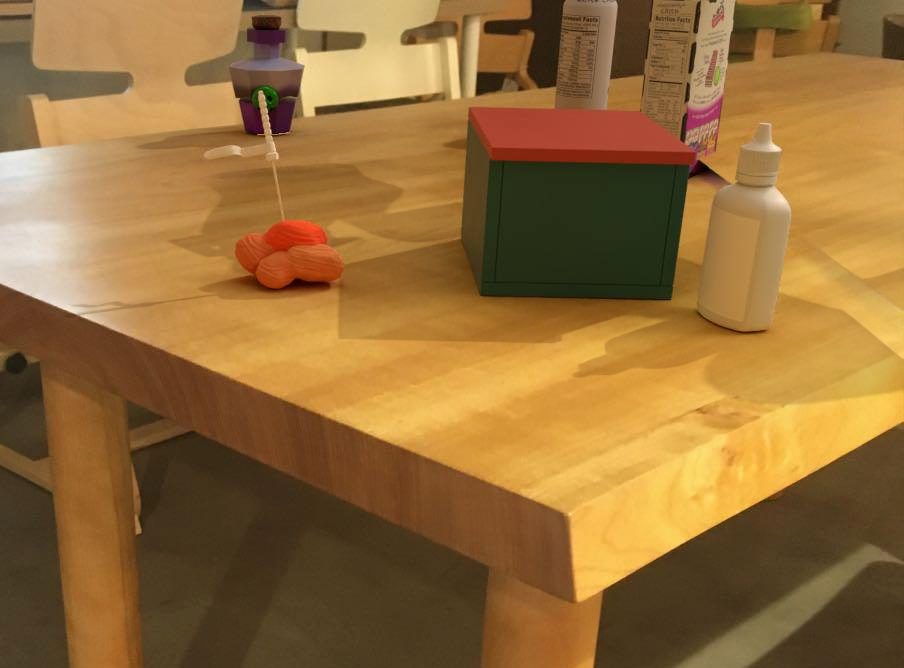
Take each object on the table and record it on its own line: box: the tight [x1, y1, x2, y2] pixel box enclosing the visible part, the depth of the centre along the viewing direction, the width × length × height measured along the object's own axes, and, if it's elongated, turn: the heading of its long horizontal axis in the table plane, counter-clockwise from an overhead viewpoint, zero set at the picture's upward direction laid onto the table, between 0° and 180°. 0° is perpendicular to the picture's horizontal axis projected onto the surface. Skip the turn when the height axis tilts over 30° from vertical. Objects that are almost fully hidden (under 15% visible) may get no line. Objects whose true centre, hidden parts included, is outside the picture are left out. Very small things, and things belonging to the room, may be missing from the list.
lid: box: [467, 106, 696, 165], centre depth 85 cm, size 17×13×1 cm
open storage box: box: [460, 118, 690, 300], centre depth 88 cm, size 16×13×9 cm
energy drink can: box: [553, 0, 619, 110], centre depth 143 cm, size 6×6×15 cm
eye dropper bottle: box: [696, 122, 792, 333], centre depth 76 cm, size 4×6×12 cm
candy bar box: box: [639, 0, 737, 178], centre depth 119 cm, size 11×5×16 cm, turn 148°
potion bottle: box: [228, 14, 305, 136], centre depth 135 cm, size 9×9×12 cm
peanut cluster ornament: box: [202, 91, 345, 290], centre depth 82 cm, size 6×10×12 cm, turn 75°
